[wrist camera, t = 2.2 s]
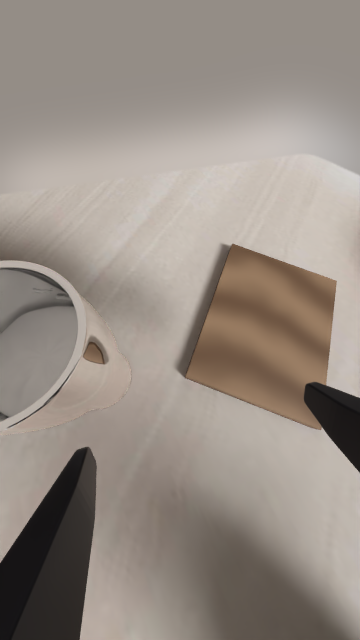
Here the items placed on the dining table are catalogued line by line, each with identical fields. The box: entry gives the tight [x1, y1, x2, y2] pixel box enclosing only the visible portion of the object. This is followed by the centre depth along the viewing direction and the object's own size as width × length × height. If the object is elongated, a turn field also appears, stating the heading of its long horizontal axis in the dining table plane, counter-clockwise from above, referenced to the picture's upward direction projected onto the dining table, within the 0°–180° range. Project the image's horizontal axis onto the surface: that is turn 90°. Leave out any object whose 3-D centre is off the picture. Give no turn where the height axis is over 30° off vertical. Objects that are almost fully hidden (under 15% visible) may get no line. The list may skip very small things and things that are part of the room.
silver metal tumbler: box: [0, 260, 131, 435], centre depth 14 cm, size 7×7×15 cm
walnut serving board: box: [185, 244, 337, 430], centre depth 24 cm, size 18×14×1 cm
